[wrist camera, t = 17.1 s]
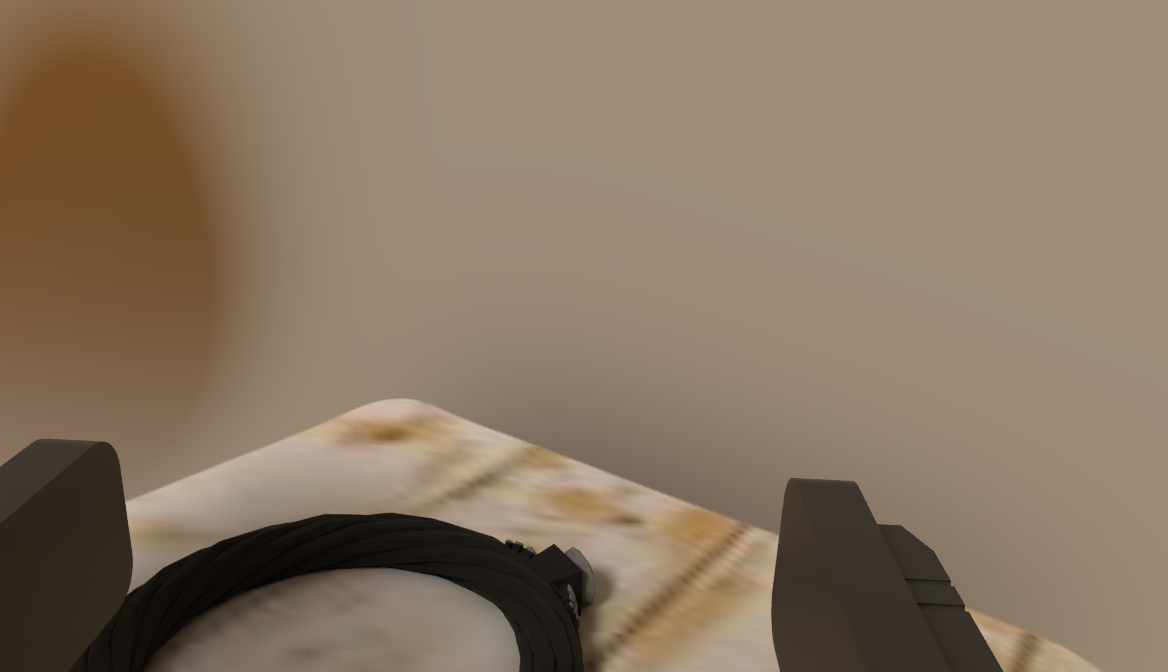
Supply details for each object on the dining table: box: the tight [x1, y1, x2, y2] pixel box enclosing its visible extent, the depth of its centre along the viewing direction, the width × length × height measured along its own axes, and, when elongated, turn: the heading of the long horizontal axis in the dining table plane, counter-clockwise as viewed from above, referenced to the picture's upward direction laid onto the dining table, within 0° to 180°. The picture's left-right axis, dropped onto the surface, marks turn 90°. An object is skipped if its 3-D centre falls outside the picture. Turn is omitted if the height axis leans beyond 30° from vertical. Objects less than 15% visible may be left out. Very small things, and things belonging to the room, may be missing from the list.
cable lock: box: [68, 513, 595, 672], centre depth 53 cm, size 28×4×30 cm
